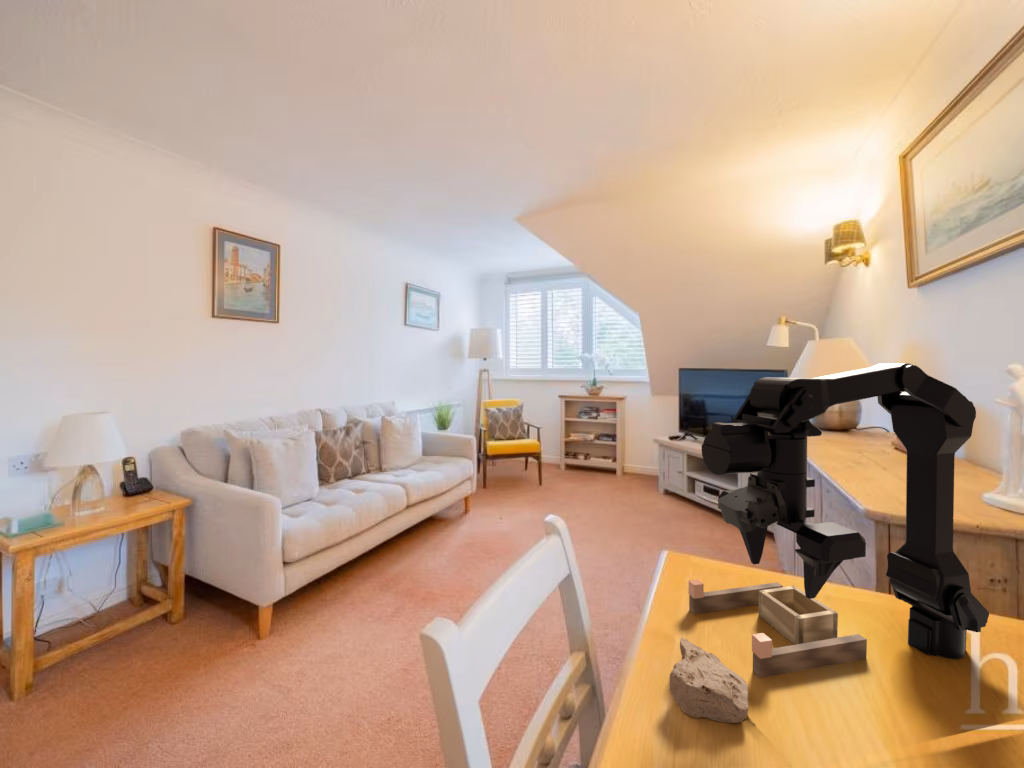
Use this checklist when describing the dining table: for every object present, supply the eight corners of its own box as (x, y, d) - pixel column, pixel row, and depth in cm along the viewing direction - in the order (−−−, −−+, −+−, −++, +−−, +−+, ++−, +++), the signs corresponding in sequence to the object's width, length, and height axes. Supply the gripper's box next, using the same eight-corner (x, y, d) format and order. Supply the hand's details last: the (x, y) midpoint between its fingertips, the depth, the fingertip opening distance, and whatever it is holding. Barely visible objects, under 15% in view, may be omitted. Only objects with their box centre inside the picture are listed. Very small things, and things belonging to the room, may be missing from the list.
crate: (793, 610, 72) (793, 585, 72) (837, 640, 64) (837, 612, 64) (758, 615, 71) (758, 590, 70) (798, 647, 63) (799, 618, 62)
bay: (776, 601, 76) (776, 569, 76) (867, 665, 60) (868, 624, 60) (688, 614, 73) (688, 580, 73) (760, 685, 57) (760, 642, 56)
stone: (666, 711, 53) (666, 674, 53) (682, 657, 63) (683, 626, 62) (745, 745, 48) (746, 705, 48) (750, 681, 58) (751, 647, 58)
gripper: (687, 457, 64) (688, 555, 65) (788, 495, 46) (787, 630, 47) (749, 453, 66) (749, 547, 67) (870, 486, 48) (868, 616, 49)
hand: (780, 579), depth 57 cm, fingers open, 9 cm apart
